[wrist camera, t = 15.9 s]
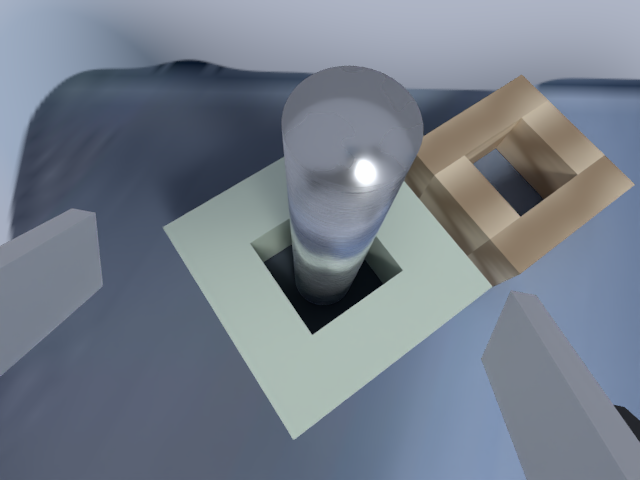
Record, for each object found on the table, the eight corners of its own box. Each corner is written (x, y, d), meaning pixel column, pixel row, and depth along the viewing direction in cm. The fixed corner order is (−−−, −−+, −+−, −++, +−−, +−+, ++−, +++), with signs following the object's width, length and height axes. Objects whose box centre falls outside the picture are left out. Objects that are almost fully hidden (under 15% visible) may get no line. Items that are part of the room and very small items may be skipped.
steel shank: (362, 284, 28) (452, 139, 11) (316, 316, 27) (337, 213, 10) (329, 240, 29) (366, 45, 12) (284, 270, 28) (254, 105, 11)
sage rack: (460, 301, 28) (492, 286, 23) (295, 427, 25) (293, 440, 20) (343, 156, 31) (350, 117, 27) (186, 252, 28) (162, 227, 24)
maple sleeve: (594, 208, 31) (634, 184, 27) (491, 287, 28) (520, 273, 25) (497, 108, 33) (521, 74, 30) (395, 173, 31) (408, 145, 27)
